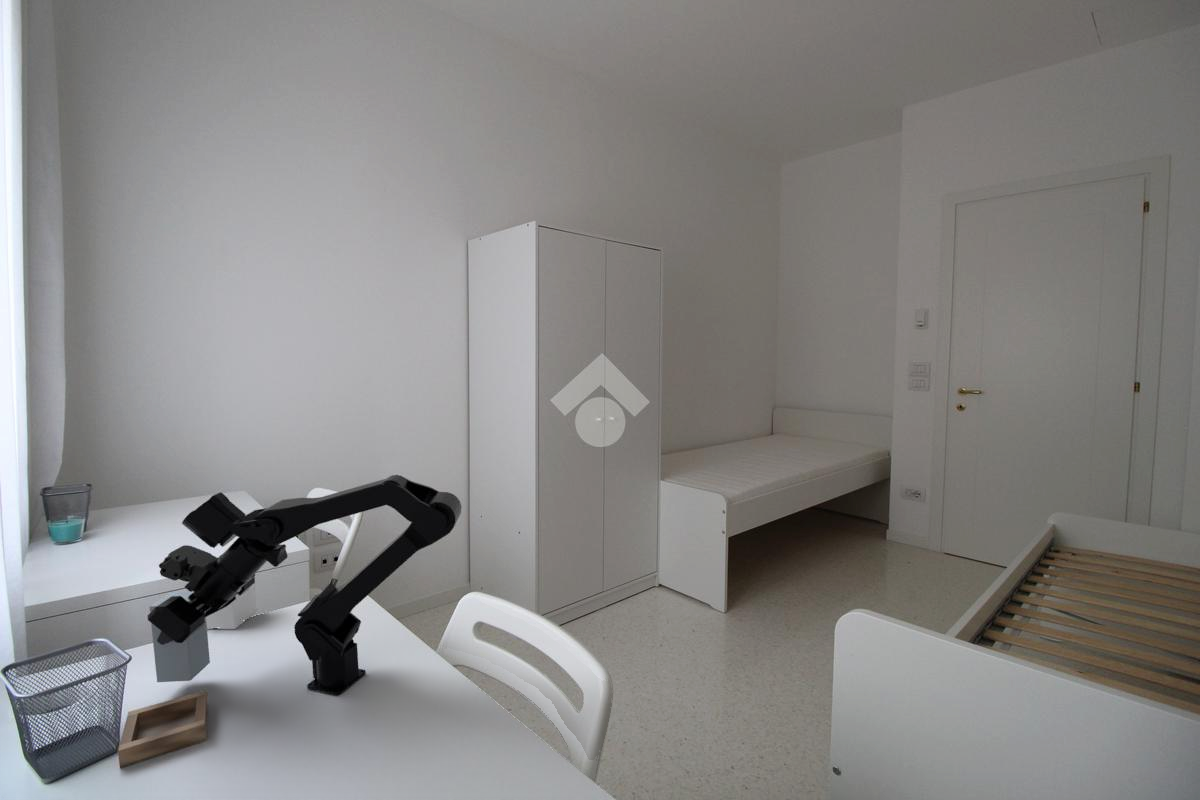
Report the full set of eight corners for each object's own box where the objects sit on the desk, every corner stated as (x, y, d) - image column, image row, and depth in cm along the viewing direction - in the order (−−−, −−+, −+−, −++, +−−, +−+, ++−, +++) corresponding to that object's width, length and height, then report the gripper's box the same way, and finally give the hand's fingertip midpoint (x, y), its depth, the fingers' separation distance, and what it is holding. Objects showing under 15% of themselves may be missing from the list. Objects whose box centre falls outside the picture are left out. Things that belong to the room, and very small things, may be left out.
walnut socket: (208, 704, 88) (206, 689, 88) (206, 740, 80) (204, 723, 80) (130, 727, 83) (128, 711, 82) (119, 768, 75) (117, 750, 75)
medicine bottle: (224, 612, 118) (219, 556, 116) (258, 612, 118) (253, 556, 116) (199, 629, 111) (194, 570, 109) (234, 630, 110) (230, 571, 109)
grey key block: (209, 662, 94) (203, 590, 93) (190, 680, 89) (183, 605, 88) (178, 664, 94) (171, 592, 92) (157, 682, 89) (149, 606, 87)
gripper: (231, 513, 98) (170, 576, 99) (155, 553, 80) (81, 631, 80) (281, 555, 100) (221, 617, 100) (218, 604, 81) (144, 680, 82)
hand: (171, 633), depth 91 cm, fingers closed on grey key block, 5 cm apart
